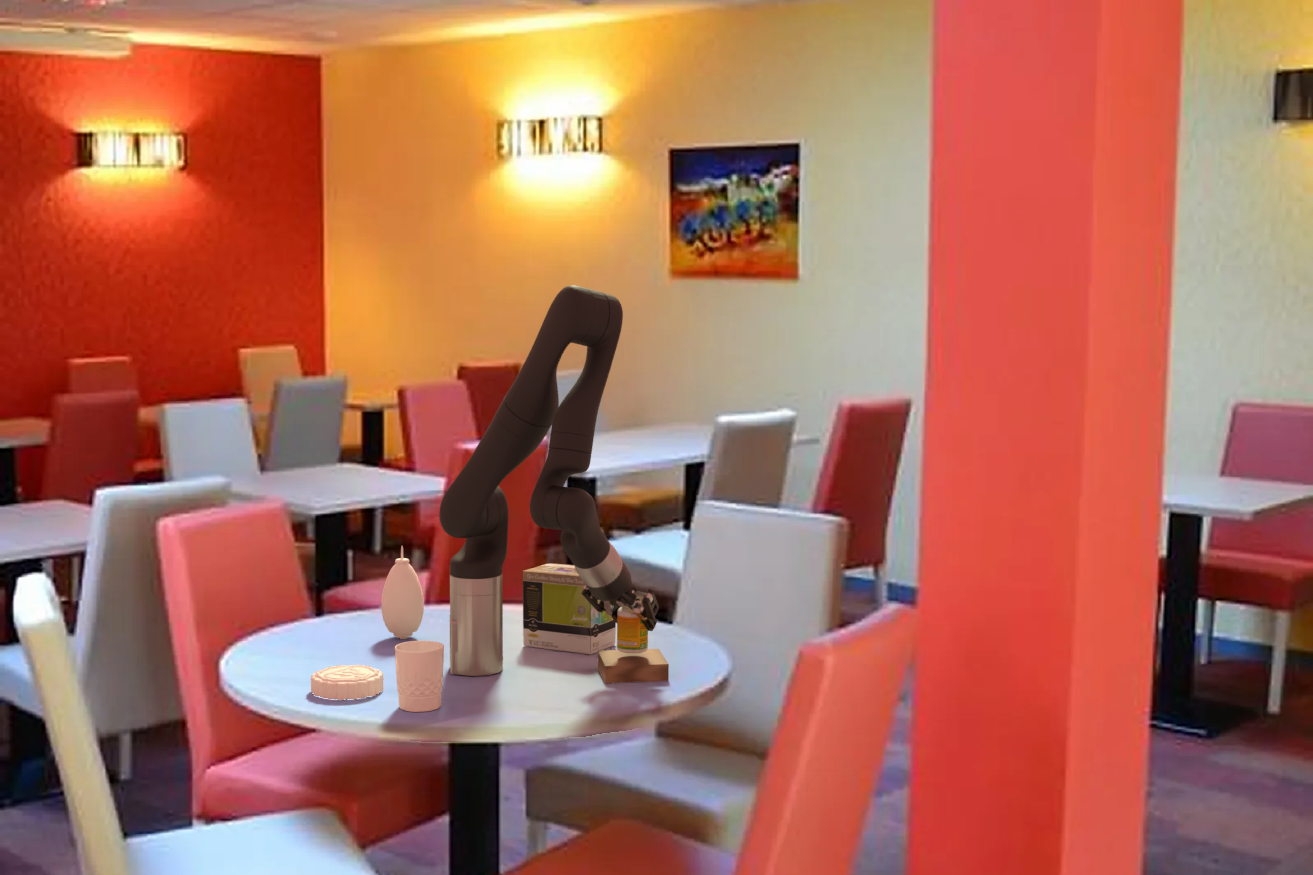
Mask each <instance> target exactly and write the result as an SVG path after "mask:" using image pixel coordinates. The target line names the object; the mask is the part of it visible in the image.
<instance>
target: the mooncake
mask: <svg viewBox="0 0 1313 875" xmlns="http://www.w3.org/2000/svg"><path fill="white" fill-rule="evenodd" d="M381 691H383V692H384V672H382V671H381V670H380V669H379V668H374V667H371V666H370V665H363V664H353V665H351V664H350V665H348V664H347V665H346V664H345V665H344V664H343V665H342V664H340V665H339V664H338V665H336V666H334V665H333V666H328V667H326V668H323V669H320V670H316V671H315V672H314V673H312V674H311V676H310V693H311V692H312V693H314V695H315V696H320V697H323V698H328V699H338V700H344V699H357V698H365V697H367V696H374V697H375V696H377V695H376V694H379V693H380V692H381ZM381 693H382V692H381ZM381 693H380V694H381ZM380 694H379V695H380ZM314 695H313V696H314ZM357 700H358V699H357Z"/></svg>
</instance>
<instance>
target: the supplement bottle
mask: <svg viewBox="0 0 1313 875" xmlns="http://www.w3.org/2000/svg"><path fill="white" fill-rule="evenodd" d="M635 601H636V600H635ZM634 603H635V602H634ZM633 605H634V604H633ZM633 605H632V607H633ZM643 609H644V608H643V607H641V608H640V611H641V612H642V611H643ZM616 625H617V626H616V650H618V651H620V652H623V653H642V652H645V651H646V650H647V649H649V645H648V642H649V641H648V640H649V631H648V630H647V628H646V627H645V625H644V624H643V622H642V621H641V619H640V618H639V617H638V616H637V615H636V614H631V613H629V612H628V611H627V610H626V609H625V608H624V607H620V608H619V609H618V612H617V623H616Z"/></svg>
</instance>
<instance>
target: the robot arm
mask: <svg viewBox="0 0 1313 875" xmlns="http://www.w3.org/2000/svg"><path fill="white" fill-rule="evenodd" d="M623 315H624V311H623V306H622V304H621V302H620V300H619V299H618V298H617V297H616V296H614V295H612V294H609V293H606V292H603V291H599V290H595V289H591V288H589V287H588V288H587V287H583V286H579V285H575V284H574V285H573V284H569V285H567V286H564V287H563V288H562V289H561V290H560V291H559V292H558V293H557V294H556V296H555V297H554V299H553V301H552V302H551V304H550V306H549V308H548V310H547V311H546V315H545V317H544V318H543V321H542V324H541V326H540V328H539V331H538V333H537V335H536V337H535V340H534V342H533V344H532V346H531V349H530V351H529V353H528V355H527V356H526V358H525V359H524V360H525V361H524V362H523V364H522V366H521V368H520V369H519V370H520V371H519V372H518V374H517V375H516V378H514V379H515V380H514V381H513V382H512V385H511V386H510V388H509V389H508V391H507V392H506V394H505V396H504V397H503V399H502V401H501V403H500V405H499V407H498V408H497V410H496V412H495V414H494V416H493V418H492V420H491V422H490V423H489V425H488V427H487V428H486V430H485V432H484V434H483V435H482V437H481V439H480V441H479V442H478V444H477V446H476V448H475V449H474V451H473V453H472V455H471V456H470V457H469V459H468V461H467V462H466V463H465V465H464V467H463V468H462V469H461V470H460V472H459V473H458V475H457V476H456V477H455V479H454V480H453V481H452V483H451V484H450V486H449V487H448V489H447V490H446V492H445V494H443V497H442V500H441V502H440V505H439V512H438V514H439V523H440V525H441V526H440V527H441V528H442V530H443V531H444V533H446V534H447V535H449V536H451V537H452V538H455V539H465V541H464V543H463V546H462V547H461V549H460V550H459V551H458V552H456V553H455V554H454V555H453V556H452V557H451V558H450V561H449V669H450V674H451V675H461V676H469V677H470V676H471V677H473V676H474V677H476V676H478V677H479V676H488V675H489V676H490V675H494V674H497V673H500V672H502V671H503V669H504V666H503V664H504V662H503V661H504V651H503V648H504V646H503V644H504V643H503V642H504V641H503V638H504V637H503V636H504V634H503V631H504V629H503V627H504V626H503V624H504V623H503V621H504V619H503V614H504V613H503V609H504V608H503V606H504V605H503V604H504V603H503V600H504V599H503V597H504V596H503V587H504V586H503V566H504V563H505V560H506V559H507V558H506V557H507V553H508V540H509V539H508V536H509V518H510V517H509V516H510V514H509V504H508V500H507V497H506V494H505V492H504V491H503V489H502V488H501V487H500V484H501V483H503V482H502V481H504V480H505V479H506V477H507V476H508V475H510V474H511V473H512V472H513V471H515V469H517V467H519V466H520V465H521V464H522V463H523V462H524V461H525V460H527V459H528V458H529V457H530V456H531V455H532V454H533V453H534V452H535V451H536V450H537V448H538V447H539V446H540V445H541V443H542V442H543V440H544V439H545V438H546V437H547V434H548V432H549V430H550V437H549V443H548V451H547V457H546V459H545V463H543V464H544V465H543V466H542V469H541V471H540V474H539V476H538V479H537V481H536V483H535V485H534V488H533V491H532V493H531V497H530V501H529V513H530V517H531V519H532V521H533V523H534V524H535V525H536V526H538V527H539V528H543V529H550V530H559V531H562V532H561V533H560V544H561V547H562V549H563V551H564V552H565V554H566V555H567V557H568V558H569V560H570V561H571V563H572V565H574V566H575V569H576V571H577V573H578V574H579V576H580V577H581V579H582V580H583V582H584V583H585V587H584V589H583V591H582V593H581V594H582V595H583V596H584V597H585V598H586V599H587V600H588V601H589V603H590V604H591V605H592V606H593V607H594V608H595V609H596V610H597V611H598V612H603V611H606V613H607V614H608V615H610V616H611V617H612V618H613V620H614V621H615V622H616V624H617V612H618V609H619V608H620V607H624V608H625V609H626V610H627V611H628V612H629V613H631V614H636V615H637V616H638V617H639V618H640V619H641V621H642V622H643V624H644V625H645V627H646V628H647V630H648V632H653V630H655V628H656V625H657V623H658V620H657V619H656V615H657V613H658V611H659V608H660V607H659V603H658V600H657V598H656V595H655V592H654V590H652V589H650V588H648V589H646V592H644V591H642V590H641V591H640V590H639V589H638V587H637V586H635V585H634V584H633V582H632V574H631V571H630V570H629V568H628V567H627V565H626V563H625V562H624V561H623V559H622V557H621V555H620V554H619V552H618V551H617V549H616V548H615V546H614V545H613V544H612V543H611V542H610V541H609V540H608V537H607V536H606V534H605V533H604V532H603V530H602V529H601V525H600V521H599V516H598V511H597V507H596V502H595V500H594V498H593V496H592V495H591V494H589V492H588V491H586V490H584V489H582V488H579V487H569V486H565V484H566V482H567V480H569V478H570V476H574V475H576V474H582V473H586V472H587V471H588V470H589V468H590V464H591V461H592V460H591V459H592V454H593V453H592V452H593V447H594V446H593V445H594V438H595V432H596V429H595V428H596V424H597V418H598V414H599V409H600V404H601V401H602V398H603V394H604V392H605V388H606V385H607V381H608V379H609V375H610V372H611V368H612V365H613V361H614V358H615V356H616V355H615V354H616V350H617V347H618V343H619V339H620V336H621V332H622V327H623V318H624V316H623ZM571 343H572V344H576V345H580V346H583V347H586V357H585V362H584V365H583V368H582V371H581V373H580V374H579V376H578V378H577V380H576V382H575V383H574V385H573V386H572V388H571V389H570V390H569V392H568V393H567V394H566V396H565V397H564V398H563V400H562V401H561V403H560V402H559V400H560V398H559V390H558V389H559V387H558V380H557V370H558V365H559V363H560V361H561V358H562V356H563V354H564V352H565V351H566V349H567V347H569V345H570V344H571ZM598 600H600V603H599V604H598ZM635 600H636V601H635ZM634 602H635V603H634ZM633 604H634V605H633ZM632 605H633V607H632ZM641 607H643V608H644V609H643V611H642V612H641V611H640V608H641Z"/></svg>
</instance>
